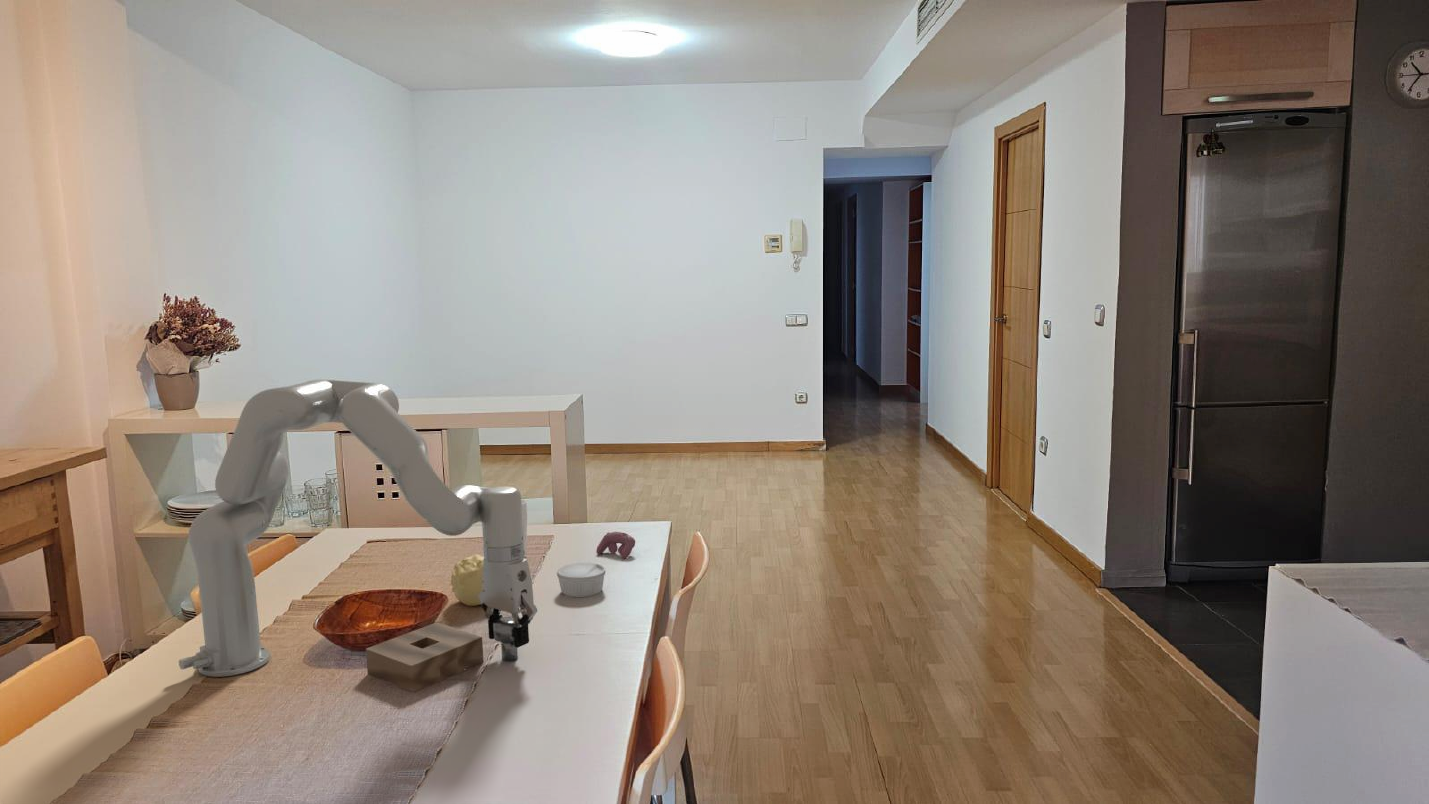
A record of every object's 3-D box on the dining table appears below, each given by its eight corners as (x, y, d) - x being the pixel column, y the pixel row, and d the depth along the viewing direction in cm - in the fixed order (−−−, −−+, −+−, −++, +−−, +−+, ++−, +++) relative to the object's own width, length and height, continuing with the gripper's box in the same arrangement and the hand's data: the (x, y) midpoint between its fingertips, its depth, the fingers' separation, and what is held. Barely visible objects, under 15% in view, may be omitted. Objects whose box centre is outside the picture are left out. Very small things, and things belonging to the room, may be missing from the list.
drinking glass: (501, 555, 251) (498, 500, 249) (527, 553, 253) (524, 498, 251) (504, 563, 245) (501, 506, 243) (530, 560, 247) (527, 504, 245)
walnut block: (413, 692, 170) (411, 666, 170) (367, 674, 179) (365, 648, 178) (483, 662, 183) (482, 637, 182) (438, 646, 191) (436, 622, 191)
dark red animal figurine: (633, 562, 249) (639, 535, 250) (623, 558, 245) (630, 532, 247) (603, 556, 254) (609, 531, 256) (593, 553, 250) (600, 527, 252)
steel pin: (508, 666, 180) (506, 629, 179) (489, 660, 184) (487, 623, 183) (530, 656, 185) (528, 620, 184) (511, 650, 188) (509, 614, 187)
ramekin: (611, 595, 219) (610, 573, 219) (563, 602, 215) (562, 580, 214) (599, 581, 230) (598, 559, 229) (553, 587, 226) (552, 566, 225)
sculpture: (449, 597, 220) (447, 552, 219) (502, 589, 224) (499, 545, 223) (454, 613, 210) (451, 566, 208) (509, 605, 214) (507, 559, 212)
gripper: (550, 554, 179) (554, 644, 182) (489, 540, 189) (494, 625, 192) (519, 564, 173) (524, 657, 176) (459, 549, 184) (464, 637, 186)
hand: (508, 640), depth 184 cm, fingers open, 6 cm apart
